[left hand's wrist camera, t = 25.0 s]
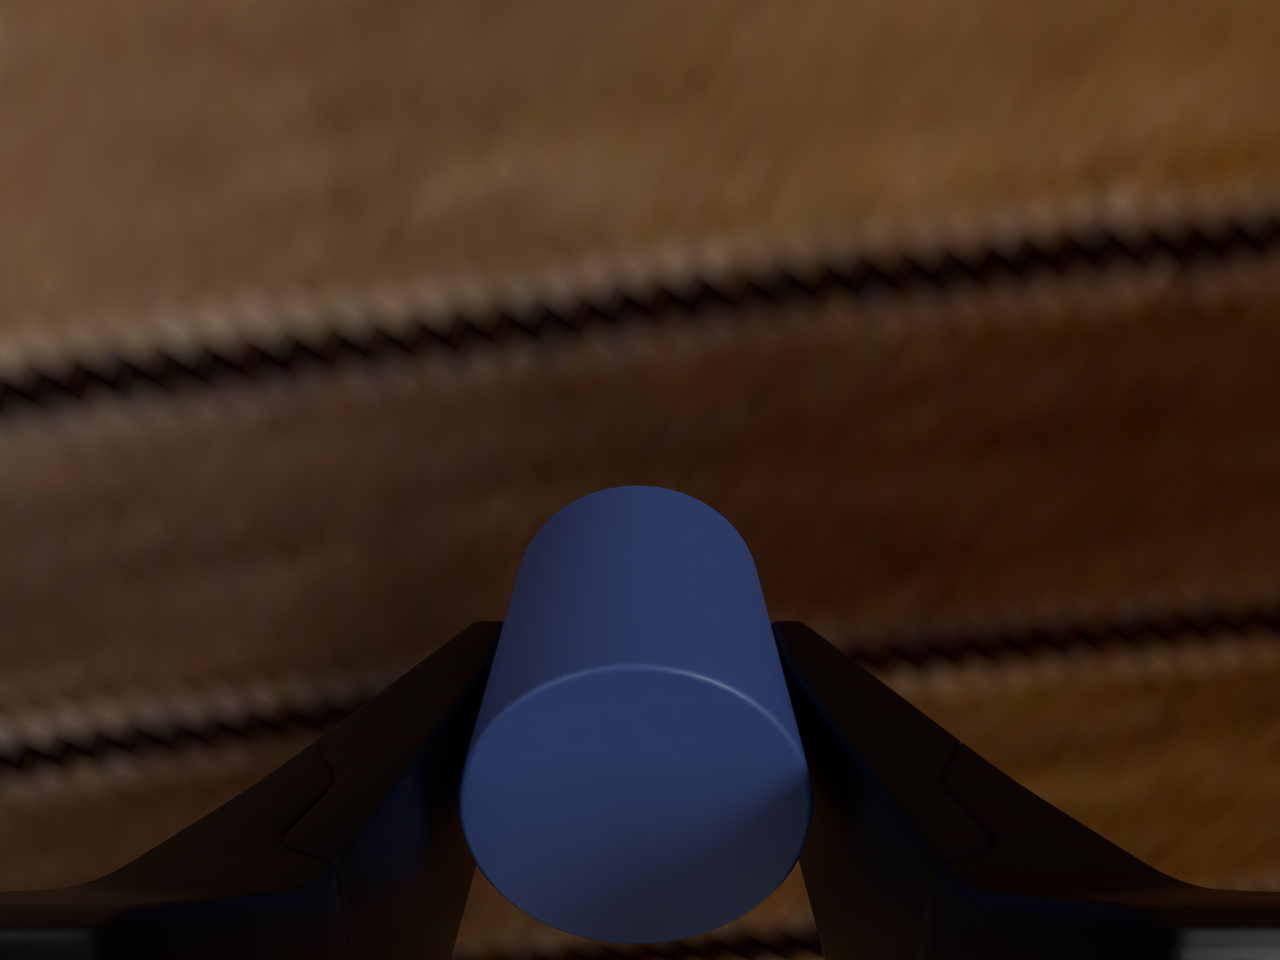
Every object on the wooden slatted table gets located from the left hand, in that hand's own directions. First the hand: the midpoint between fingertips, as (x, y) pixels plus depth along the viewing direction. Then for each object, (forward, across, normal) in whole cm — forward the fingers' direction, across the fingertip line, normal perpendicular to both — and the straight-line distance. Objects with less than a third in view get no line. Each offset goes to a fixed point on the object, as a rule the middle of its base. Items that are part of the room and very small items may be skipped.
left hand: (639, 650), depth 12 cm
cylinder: (+1, 0, 0) cm, 1 cm away
